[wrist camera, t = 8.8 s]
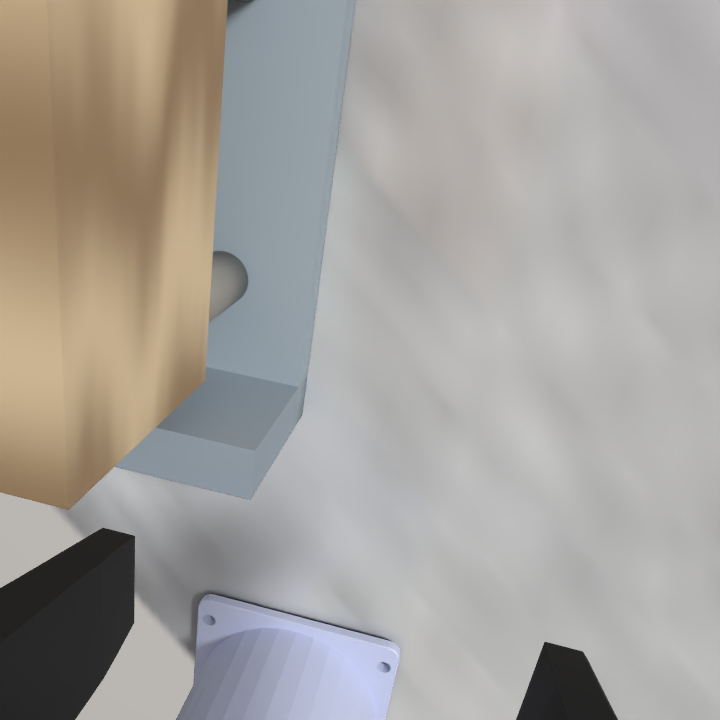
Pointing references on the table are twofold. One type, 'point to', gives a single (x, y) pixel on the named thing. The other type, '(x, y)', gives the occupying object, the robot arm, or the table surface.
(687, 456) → the table surface
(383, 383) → the table surface
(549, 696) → the robot arm
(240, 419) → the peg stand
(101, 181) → the oak plank
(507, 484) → the table surface
